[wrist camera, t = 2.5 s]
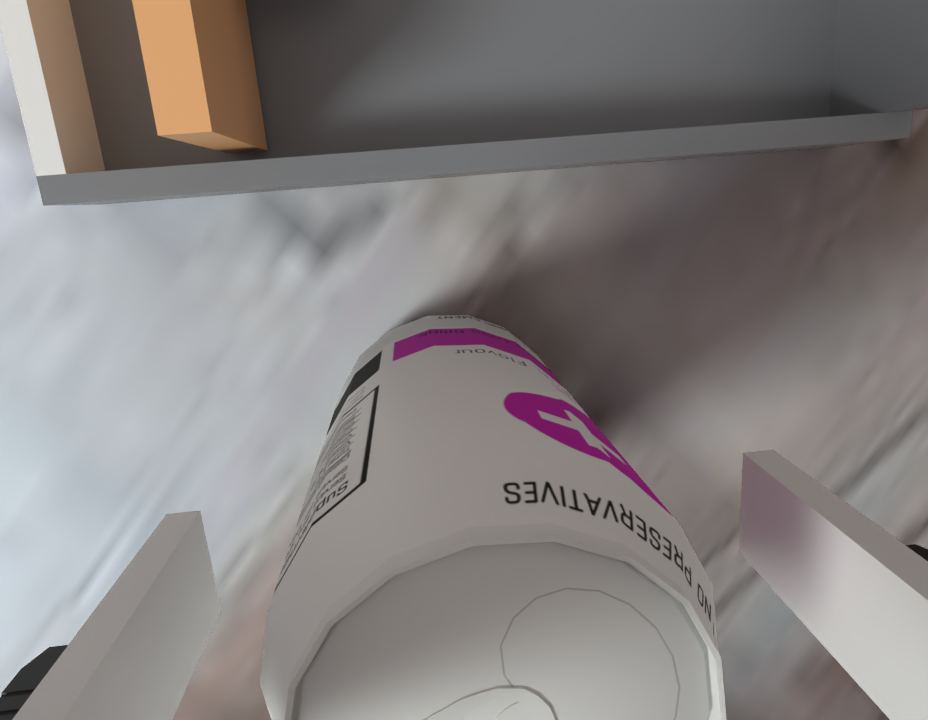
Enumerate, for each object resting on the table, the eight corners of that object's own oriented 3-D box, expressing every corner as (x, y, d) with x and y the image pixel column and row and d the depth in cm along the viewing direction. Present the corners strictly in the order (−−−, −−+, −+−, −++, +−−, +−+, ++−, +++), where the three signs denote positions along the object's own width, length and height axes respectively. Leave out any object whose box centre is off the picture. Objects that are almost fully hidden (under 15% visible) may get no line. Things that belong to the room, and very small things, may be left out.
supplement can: (485, 269, 23) (623, 389, 9) (587, 447, 25) (835, 787, 11) (296, 381, 23) (121, 678, 9) (412, 548, 26) (422, 1005, 11)
